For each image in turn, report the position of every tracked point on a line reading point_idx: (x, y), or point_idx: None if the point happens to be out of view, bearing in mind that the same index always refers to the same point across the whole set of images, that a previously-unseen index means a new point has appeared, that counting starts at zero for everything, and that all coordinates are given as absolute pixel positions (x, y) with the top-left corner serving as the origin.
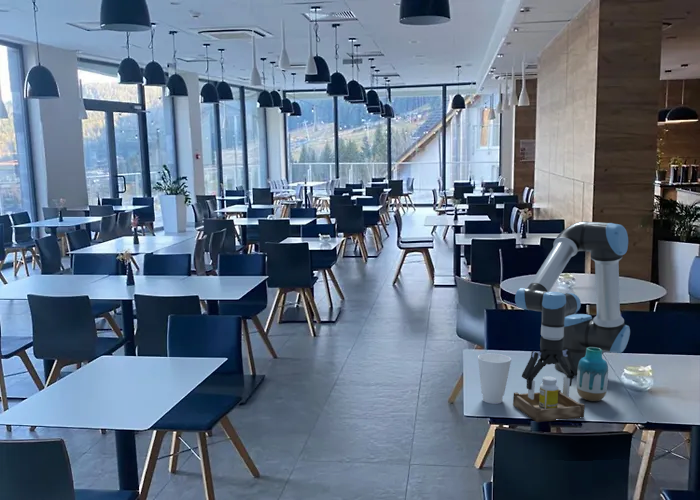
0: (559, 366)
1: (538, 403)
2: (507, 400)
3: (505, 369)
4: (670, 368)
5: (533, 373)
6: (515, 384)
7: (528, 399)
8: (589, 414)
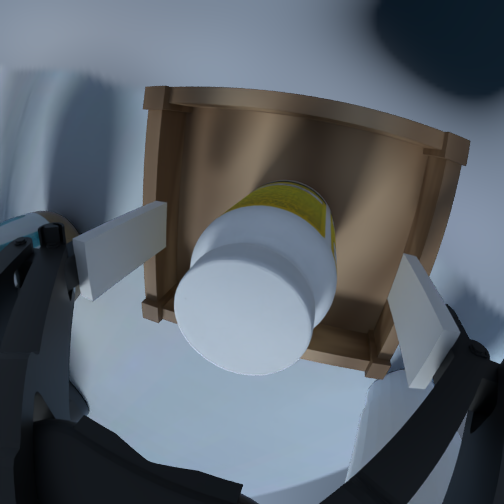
0: (68, 372)
1: None
2: (354, 377)
3: (426, 490)
4: None
5: (471, 400)
6: (221, 430)
7: (316, 332)
8: (137, 124)
